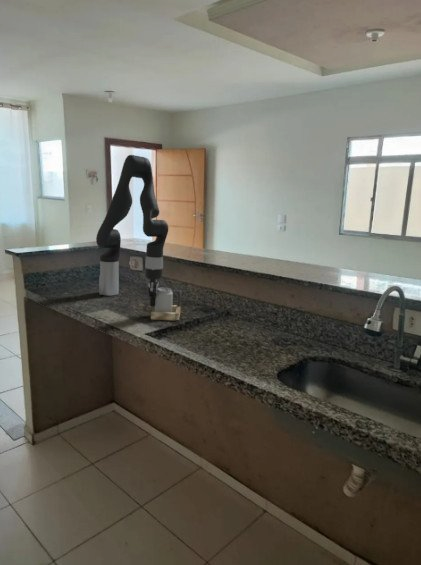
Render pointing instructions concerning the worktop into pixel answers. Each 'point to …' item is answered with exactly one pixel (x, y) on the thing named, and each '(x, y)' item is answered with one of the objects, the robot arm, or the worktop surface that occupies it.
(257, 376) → the worktop surface
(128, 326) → the worktop surface
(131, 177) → the robot arm
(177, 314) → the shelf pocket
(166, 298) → the can
